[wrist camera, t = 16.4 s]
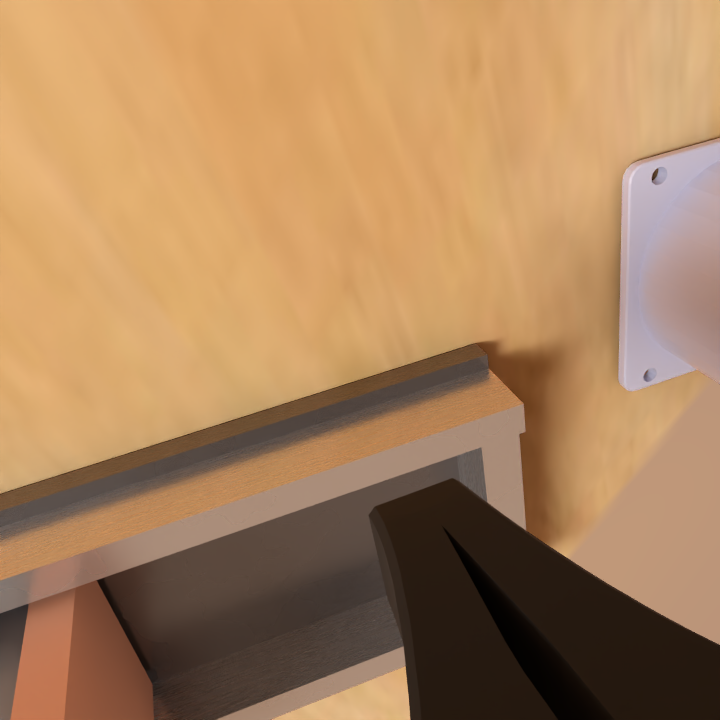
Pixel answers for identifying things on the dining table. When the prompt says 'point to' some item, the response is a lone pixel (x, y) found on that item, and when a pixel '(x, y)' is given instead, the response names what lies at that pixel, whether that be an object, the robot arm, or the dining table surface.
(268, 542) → the pusher lane
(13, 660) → the jar
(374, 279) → the dining table surface
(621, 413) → the dining table surface
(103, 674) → the plate
